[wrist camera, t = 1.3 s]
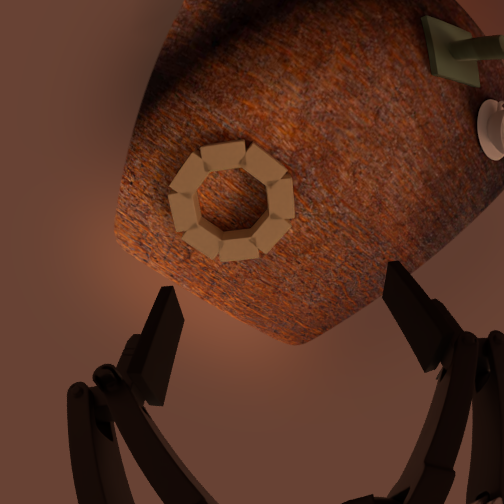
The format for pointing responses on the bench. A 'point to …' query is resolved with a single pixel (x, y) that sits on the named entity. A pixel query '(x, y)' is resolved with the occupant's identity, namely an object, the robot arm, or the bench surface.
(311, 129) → the bench surface
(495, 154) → the teacup
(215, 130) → the bench surface
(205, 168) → the ring of blocks
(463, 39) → the stand
